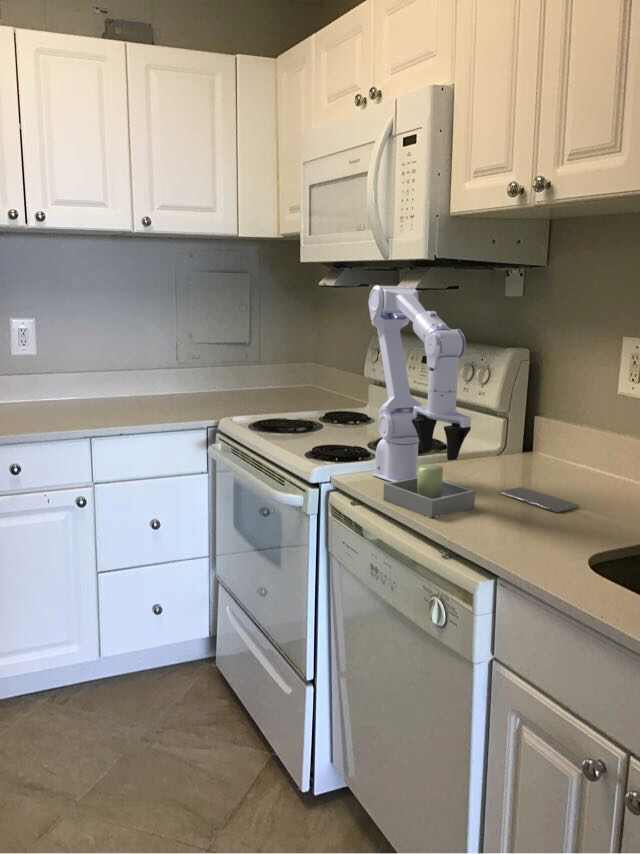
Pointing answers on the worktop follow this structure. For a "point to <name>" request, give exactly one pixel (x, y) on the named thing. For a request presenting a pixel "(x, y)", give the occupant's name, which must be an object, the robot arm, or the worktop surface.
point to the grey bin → (408, 498)
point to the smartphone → (540, 500)
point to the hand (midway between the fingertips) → (438, 455)
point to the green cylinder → (430, 481)
